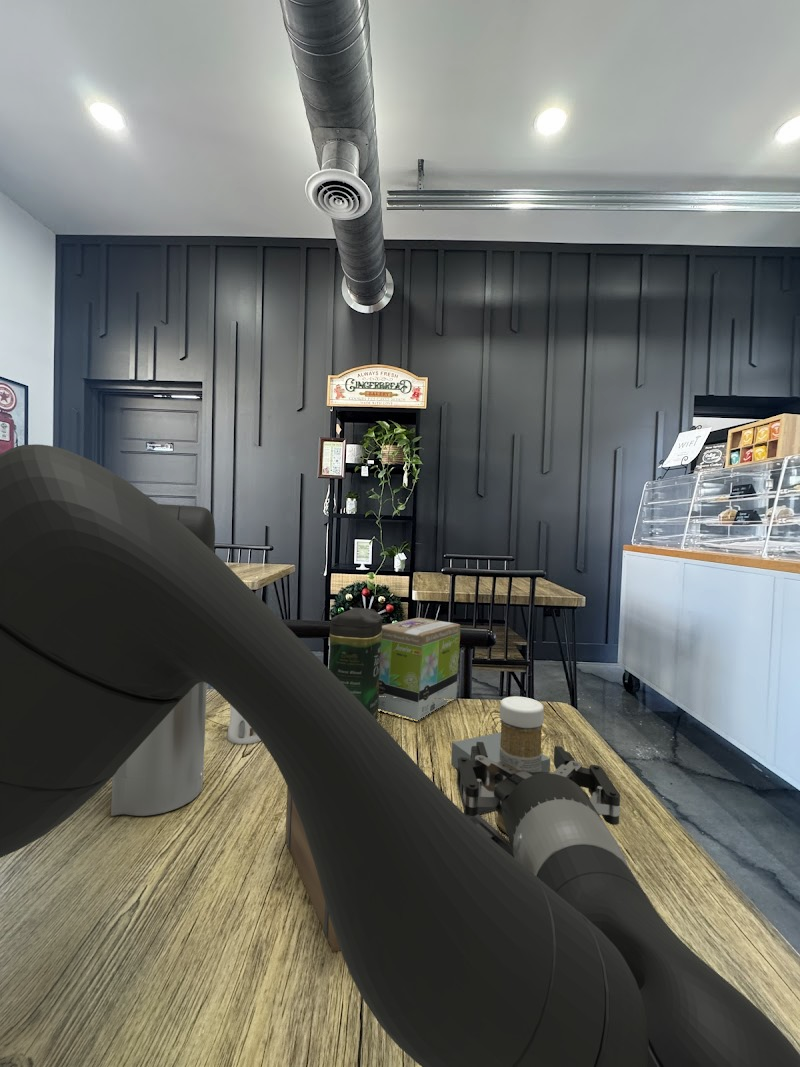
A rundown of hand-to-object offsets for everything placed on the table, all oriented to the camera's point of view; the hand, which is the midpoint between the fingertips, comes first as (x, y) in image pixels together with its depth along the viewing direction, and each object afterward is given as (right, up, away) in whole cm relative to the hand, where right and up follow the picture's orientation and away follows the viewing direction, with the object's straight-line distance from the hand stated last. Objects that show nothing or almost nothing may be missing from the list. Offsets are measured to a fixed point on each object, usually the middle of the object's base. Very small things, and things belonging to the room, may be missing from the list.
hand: (518, 752), depth 52 cm
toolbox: (-18, -7, -9) cm, 21 cm away
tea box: (-10, -7, +34) cm, 37 cm away
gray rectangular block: (0, -7, +10) cm, 13 cm away
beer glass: (-36, -6, +19) cm, 41 cm away
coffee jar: (-21, -7, +24) cm, 33 cm away
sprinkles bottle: (0, -8, -1) cm, 8 cm away
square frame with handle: (-4, -7, -3) cm, 9 cm away
